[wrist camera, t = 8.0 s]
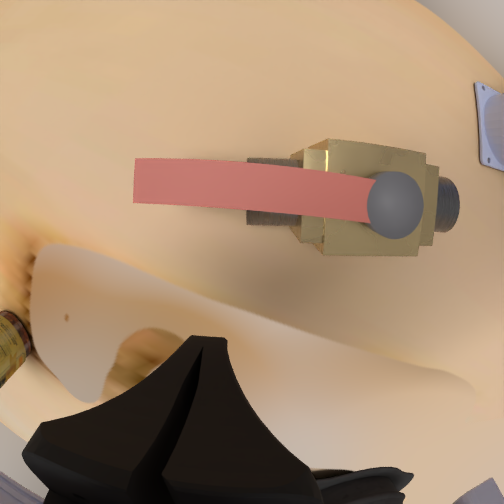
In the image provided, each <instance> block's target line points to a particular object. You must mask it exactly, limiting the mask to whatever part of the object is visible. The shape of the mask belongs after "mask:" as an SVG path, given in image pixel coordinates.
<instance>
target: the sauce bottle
mask: <svg viewBox="0 0 504 504" xmlns="http://www.w3.org/2000/svg"><path fill="white" fill-rule="evenodd" d="M30 351H31V343H30V341H29V337H28V334H27V332H26V330H25V328H24V327H23V325H22V324H21V323H20V321H19V320H18V319H17V318H16V317H15V316H14V314H11V313H9V312H5V311H1V312H0V388H1V387H2V386H3V385H4V384H5V382H6V381H7V380H8V379H9V378H10V377H11V376H12V375H13V374H14V373H15V372H16V370H17V369H18V368H19V367H20V366H21V365H22V364H23V363H24V362H25V360H26V358H27V356H28V355H29V353H30Z"/></svg>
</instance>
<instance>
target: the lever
mask: <svg viewBox="0 0 504 504" xmlns="http://www.w3.org/2000/svg"><path fill="white" fill-rule="evenodd" d="M133 203H148V204H168V205H186V206H201V207H216V208H229V209H242V210H254V211H265V212H276V213H286V214H296V215H305V216H314V217H323V218H332V219H340V220H349V221H356V222H364V223H365V224H366V225H367V226H368V227H369V228H370V229H371V230H372V231H374V232H376V233H378V234H380V235H382V236H384V237H386V238H389V239H401V238H404V237H406V236H408V235H409V234H411V233H412V232H413V231H414V230H415V229H416V227H417V226H418V224H419V223H420V220H421V218H422V214H423V208H424V201H423V195H422V192H421V189H420V187H419V186H418V184H417V183H416V181H415V180H414V179H413V178H412V177H410V176H409V175H407V174H405V173H402V172H395V171H383V172H378V173H376V174H374V175H372V176H371V177H370V178H369V179H368V178H363V177H357V176H352V175H346V174H339V173H333V172H326V171H319V170H312V169H305V168H297V167H288V166H279V165H270V164H259V163H248V162H235V161H219V160H200V159H164V158H135V171H134V192H133Z"/></svg>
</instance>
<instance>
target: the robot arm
mask: <svg viewBox="0 0 504 504" xmlns="http://www.w3.org/2000/svg"><path fill="white" fill-rule="evenodd" d="M475 92H476V99H477V108H478V119H479V135H480V161H481V163H482V164H483V165H486V166H489V167H492V168H495V169H498V170H501V171H504V93H503V94H500V93H499V92H497V91H495V90H494V89H492V88H490V87H488V86H486V85H484V84H483V83H481V82H475ZM487 159H488V161H487ZM22 457H23V459H24V461H25V463H26V465H27V466H28V467H29V468H30V470H31V471H32V472H33V473H34V474H35V475H36V476H37V477H38V478H39V479H40V480H41V481H42V482H43V483H44V484H45V485H46V487H48V489H49V491H48V493H47V495H46V498H45V499H44V498H42V497H40V496H38V495H37V494H35V493H33V492H31V491H30V490H28V489H27V488H25V487H23V486H22V485H20V484H19V483H17V482H16V481H14V480H13V479H11V478H10V477H8V476H7V475H5V474H4V473H3V472H1V471H0V504H324V502H323V497H322V494H321V491H320V489H319V486H318V484H317V482H316V480H315V478H314V476H313V474H312V472H311V470H310V468H309V467H308V466H307V465H305V464H304V463H303V462H302V461H300V460H299V459H298V458H297V457H295V456H294V455H293V454H292V453H291V452H290V451H288V449H287V448H286V447H284V446H283V445H282V444H281V443H280V442H279V441H278V440H277V438H276V437H274V435H273V434H272V433H271V432H270V431H269V430H268V428H267V427H266V426H265V425H264V423H263V422H262V421H261V420H260V418H259V417H258V416H257V414H256V413H255V411H254V410H253V408H252V407H251V405H250V404H249V402H248V400H247V399H246V397H245V395H244V394H243V391H242V390H241V388H240V385H239V383H238V381H237V379H236V376H235V374H234V371H233V369H232V366H231V363H230V360H229V355H228V351H227V340H226V339H225V338H222V337H207V336H194V335H192V336H190V337H189V338H188V339H187V340H186V341H185V342H184V343H183V344H182V345H181V346H180V347H179V348H178V349H177V350H176V351H175V352H174V353H173V354H172V355H171V356H170V357H169V358H168V359H167V360H166V361H165V362H164V363H163V364H162V365H161V366H159V367H158V368H157V369H156V370H155V371H153V372H152V373H151V374H150V375H149V376H147V377H146V378H145V379H144V380H142V381H141V382H140V383H138V384H137V385H135V386H134V387H132V388H131V389H129V390H128V391H126V392H124V393H123V394H121V395H119V396H117V397H115V398H113V399H111V400H109V401H107V402H105V403H103V404H101V405H99V406H96V407H94V408H91V409H89V410H86V411H83V412H81V413H78V414H75V415H71V416H68V417H64V418H60V419H56V420H51V421H47V422H42V423H41V424H40V426H39V427H38V428H37V430H36V431H35V433H34V434H33V436H32V437H31V439H30V441H29V442H28V444H27V445H26V447H25V448H24V450H23V452H22ZM453 504H504V497H503V495H502V494H501V492H500V490H499V488H498V486H497V484H496V483H495V481H494V479H493V478H489V479H488V480H486V481H484V482H483V483H481V484H480V485H478V486H476V487H474V488H473V489H471V490H470V491H468V492H466V493H465V494H464V495H462V496H461V497H460V498H458V499H457V500H456V501H455V502H454V503H453Z"/></svg>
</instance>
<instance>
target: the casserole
mask: <svg viewBox="0 0 504 504" xmlns="http://www.w3.org/2000/svg"><path fill="white" fill-rule="evenodd" d="M413 477H414V475H413V473H406V472H403V471H401V470H399V469H398V468H394V467H378V468H370V469H365V470H360V471H355V472H352V473H348V474H344V475H340V476H336V477H331V478H325V479H316V482H317V484H318V486H319V489H320V491H321V494H322V497H323V502H324V504H403V500H404V499H405V494H404V493H401V492H399V491H400V490H401V489H403V488H404V487H405V486H406V485H407V484H408V483H409V482H410V481H411V480H412V478H413Z"/></svg>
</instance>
